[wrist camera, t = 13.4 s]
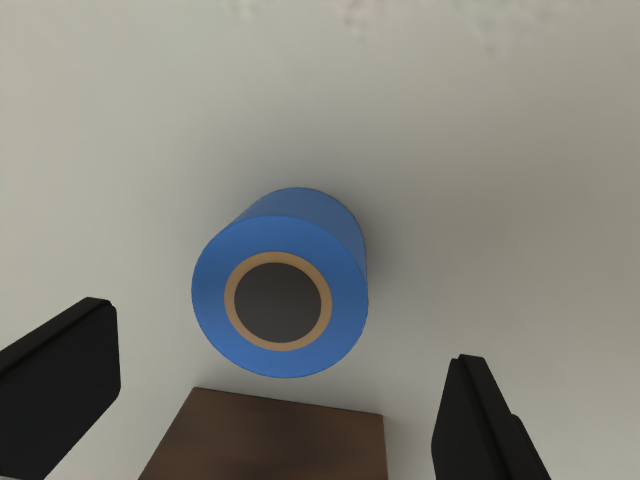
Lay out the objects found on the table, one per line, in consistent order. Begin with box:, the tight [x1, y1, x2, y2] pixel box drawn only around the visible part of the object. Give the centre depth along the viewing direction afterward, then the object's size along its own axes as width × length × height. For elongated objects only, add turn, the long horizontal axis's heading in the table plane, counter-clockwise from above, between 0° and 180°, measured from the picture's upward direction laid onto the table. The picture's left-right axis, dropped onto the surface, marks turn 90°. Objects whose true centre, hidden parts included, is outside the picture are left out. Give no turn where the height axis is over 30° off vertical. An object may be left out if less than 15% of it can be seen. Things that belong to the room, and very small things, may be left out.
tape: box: [191, 188, 368, 378], centre depth 17 cm, size 7×7×6 cm
